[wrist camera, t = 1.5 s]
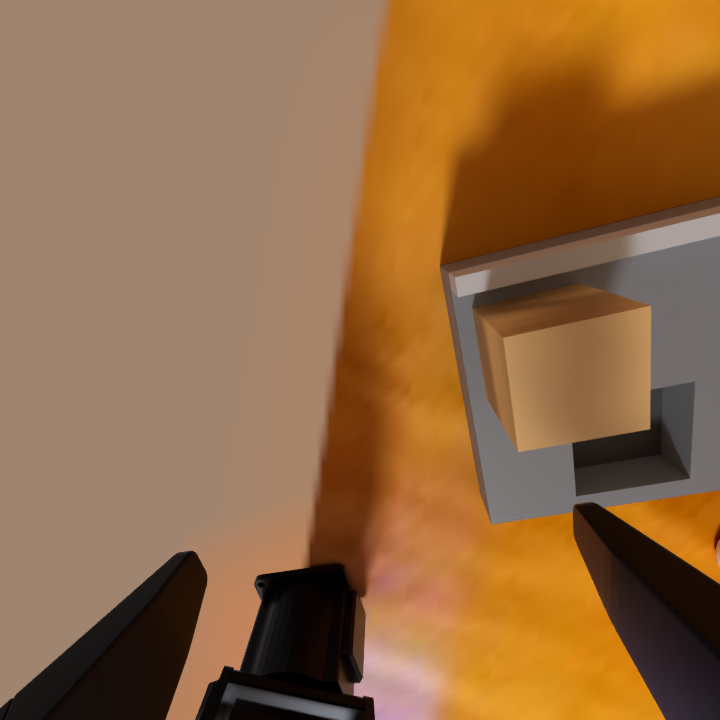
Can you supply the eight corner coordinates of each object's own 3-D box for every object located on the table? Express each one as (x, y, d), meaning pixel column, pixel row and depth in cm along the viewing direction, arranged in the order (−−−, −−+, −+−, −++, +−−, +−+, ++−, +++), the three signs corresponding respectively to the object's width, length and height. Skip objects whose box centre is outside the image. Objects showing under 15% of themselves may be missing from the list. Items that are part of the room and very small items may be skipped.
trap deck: (480, 493, 23) (502, 554, 19) (439, 265, 18) (457, 279, 14) (813, 438, 20) (925, 495, 16) (863, 160, 16) (1037, 139, 12)
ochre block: (485, 397, 18) (518, 452, 14) (472, 307, 16) (503, 337, 12) (584, 378, 17) (650, 429, 13) (579, 283, 16) (651, 305, 12)
